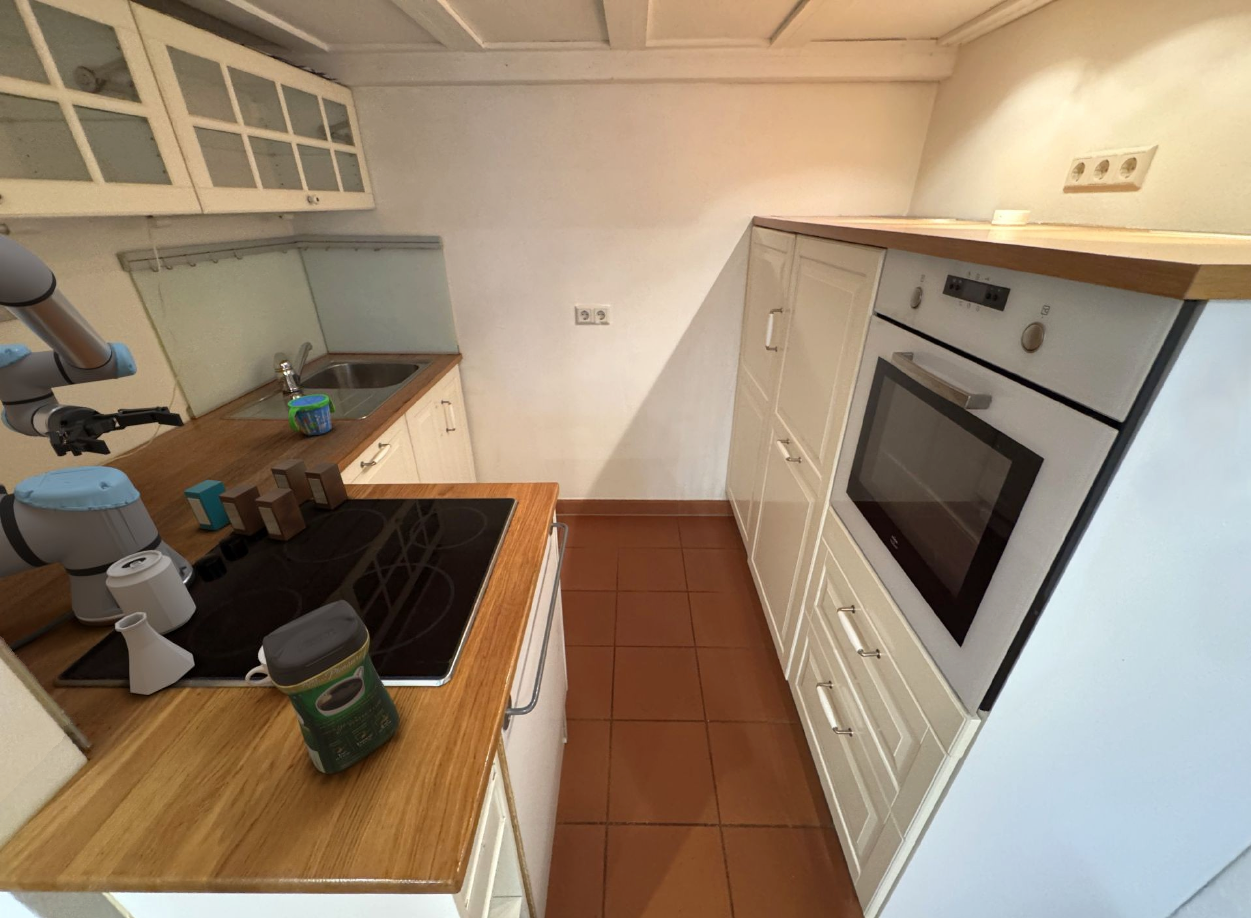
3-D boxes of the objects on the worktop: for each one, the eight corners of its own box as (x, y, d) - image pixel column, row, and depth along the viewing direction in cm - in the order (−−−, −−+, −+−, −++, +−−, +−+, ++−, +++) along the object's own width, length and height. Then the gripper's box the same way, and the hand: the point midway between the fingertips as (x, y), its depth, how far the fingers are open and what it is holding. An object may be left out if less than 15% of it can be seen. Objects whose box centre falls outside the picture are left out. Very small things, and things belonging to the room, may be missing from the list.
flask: (119, 683, 69) (82, 629, 65) (180, 647, 75) (150, 595, 70) (144, 704, 66) (107, 649, 62) (205, 664, 72) (176, 611, 67)
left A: (249, 536, 101) (232, 498, 97) (234, 534, 102) (216, 496, 98) (271, 522, 106) (256, 485, 102) (256, 520, 106) (240, 483, 102)
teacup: (323, 640, 75) (312, 613, 73) (345, 666, 70) (334, 638, 68) (246, 684, 68) (231, 655, 66) (264, 716, 64) (249, 686, 61)
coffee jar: (383, 693, 66) (345, 583, 58) (409, 731, 61) (370, 617, 53) (303, 743, 60) (247, 628, 52) (323, 790, 55) (265, 671, 47)
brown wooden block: (285, 541, 99) (269, 502, 95) (269, 539, 100) (253, 500, 96) (306, 527, 103) (292, 489, 99) (290, 525, 104) (276, 487, 100)
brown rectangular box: (297, 505, 111) (284, 470, 107) (283, 504, 112) (269, 468, 108) (316, 494, 116) (303, 459, 112) (301, 492, 117) (289, 458, 113)
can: (189, 599, 84) (157, 541, 79) (205, 617, 80) (173, 556, 75) (131, 626, 79) (93, 566, 74) (146, 647, 75) (107, 584, 70)
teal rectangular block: (215, 531, 103) (197, 493, 99) (200, 529, 104) (181, 491, 100) (238, 517, 108) (221, 481, 104) (223, 515, 109) (207, 479, 105)
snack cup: (309, 443, 143) (298, 410, 138) (282, 440, 146) (270, 407, 141) (352, 423, 156) (342, 392, 152) (325, 421, 159) (316, 390, 155)
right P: (331, 510, 109) (318, 473, 105) (316, 508, 110) (303, 472, 106) (348, 498, 114) (337, 463, 110) (333, 496, 115) (322, 461, 111)
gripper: (144, 417, 117) (213, 426, 112) (2, 466, 96) (79, 479, 91) (129, 387, 114) (199, 394, 108) (-21, 430, 92) (56, 442, 87)
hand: (145, 433), depth 99 cm, fingers open, 13 cm apart
